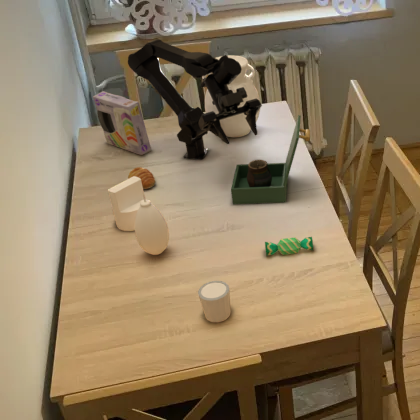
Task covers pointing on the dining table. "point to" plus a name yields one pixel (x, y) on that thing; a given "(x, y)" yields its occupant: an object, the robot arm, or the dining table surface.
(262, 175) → the mate gourd
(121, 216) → the base with upright slab
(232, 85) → the cream handled vase
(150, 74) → the robot arm
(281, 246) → the candy
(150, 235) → the bulb air blower
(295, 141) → the green box lid
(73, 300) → the dining table surface
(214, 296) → the white cylinder
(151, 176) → the pastry
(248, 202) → the green open box
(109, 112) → the cake pan box
